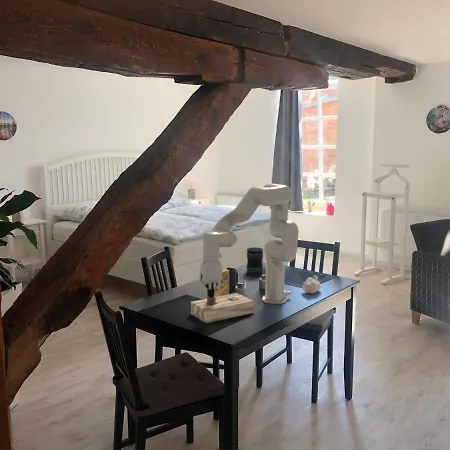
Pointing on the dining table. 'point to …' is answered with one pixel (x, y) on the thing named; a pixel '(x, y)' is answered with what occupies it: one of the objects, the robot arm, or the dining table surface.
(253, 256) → the storage jar
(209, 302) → the peg
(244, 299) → the birch block
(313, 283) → the cream lumpy bulb
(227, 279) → the candy box
